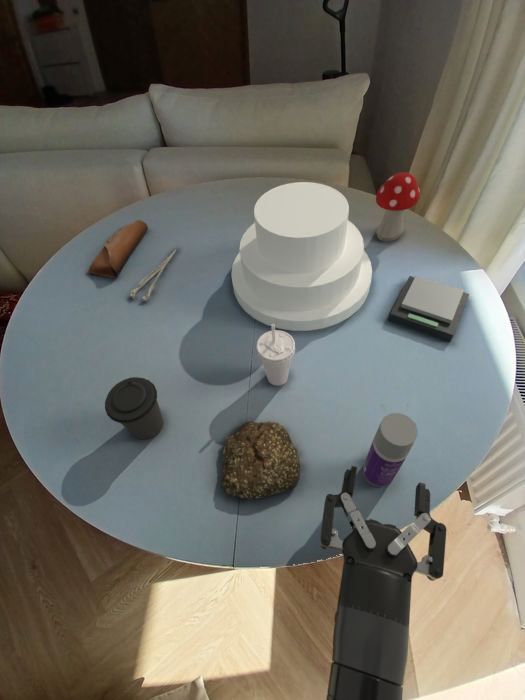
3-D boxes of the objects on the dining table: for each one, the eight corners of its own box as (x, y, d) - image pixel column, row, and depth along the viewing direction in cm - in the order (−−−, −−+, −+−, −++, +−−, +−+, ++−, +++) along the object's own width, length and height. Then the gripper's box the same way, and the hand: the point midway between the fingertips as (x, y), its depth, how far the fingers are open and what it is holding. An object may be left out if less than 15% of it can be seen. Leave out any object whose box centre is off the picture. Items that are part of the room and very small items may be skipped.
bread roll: (304, 496, 59) (304, 485, 55) (221, 504, 59) (216, 494, 55) (293, 419, 67) (293, 404, 63) (220, 426, 67) (215, 412, 63)
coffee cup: (157, 396, 71) (139, 364, 63) (180, 427, 67) (164, 397, 59) (116, 422, 68) (93, 393, 60) (138, 457, 64) (115, 430, 56)
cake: (324, 222, 99) (328, 151, 85) (399, 297, 82) (420, 224, 68) (213, 262, 92) (198, 192, 78) (269, 352, 75) (263, 284, 61)
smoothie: (285, 357, 74) (283, 306, 63) (301, 383, 71) (302, 333, 60) (254, 371, 73) (247, 321, 62) (269, 397, 69) (264, 350, 58)
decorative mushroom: (386, 252, 91) (400, 192, 79) (360, 233, 95) (370, 174, 83) (417, 235, 93) (435, 175, 81) (391, 218, 98) (404, 158, 86)
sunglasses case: (119, 226, 102) (123, 208, 97) (144, 240, 104) (150, 222, 99) (85, 273, 92) (88, 255, 87) (114, 287, 94) (119, 270, 89)
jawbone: (148, 302, 86) (145, 295, 84) (130, 298, 87) (127, 291, 85) (185, 256, 96) (184, 249, 95) (169, 253, 97) (167, 246, 96)
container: (375, 493, 58) (396, 453, 46) (356, 466, 61) (371, 422, 49) (400, 477, 60) (427, 435, 48) (380, 452, 62) (401, 405, 50)
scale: (465, 300, 80) (471, 290, 78) (450, 342, 74) (455, 332, 72) (407, 282, 84) (410, 272, 82) (388, 320, 78) (391, 310, 76)
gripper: (453, 643, 38) (453, 480, 47) (307, 596, 41) (334, 451, 50) (431, 643, 44) (435, 499, 53) (305, 602, 47) (330, 472, 56)
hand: (386, 476), depth 51 cm, fingers open, 8 cm apart
